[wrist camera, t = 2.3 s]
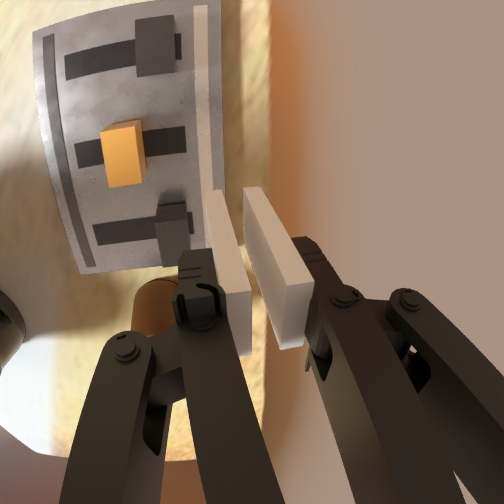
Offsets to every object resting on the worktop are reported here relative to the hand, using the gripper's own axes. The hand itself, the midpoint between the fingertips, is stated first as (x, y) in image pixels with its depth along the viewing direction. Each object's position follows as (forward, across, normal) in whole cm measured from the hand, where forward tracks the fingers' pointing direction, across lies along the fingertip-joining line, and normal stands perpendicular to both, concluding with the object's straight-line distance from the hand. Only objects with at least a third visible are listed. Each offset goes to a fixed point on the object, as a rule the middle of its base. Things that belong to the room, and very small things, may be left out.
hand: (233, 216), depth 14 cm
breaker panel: (+18, -8, 0) cm, 20 cm away
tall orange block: (+16, -8, 0) cm, 18 cm away
